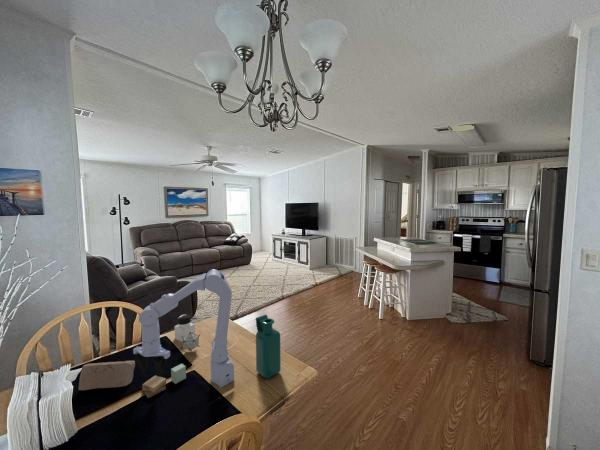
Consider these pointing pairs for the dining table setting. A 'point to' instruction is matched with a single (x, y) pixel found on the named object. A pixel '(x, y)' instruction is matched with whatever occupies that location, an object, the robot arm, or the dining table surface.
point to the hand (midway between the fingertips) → (152, 373)
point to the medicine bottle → (184, 327)
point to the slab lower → (153, 393)
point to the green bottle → (267, 347)
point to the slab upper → (154, 384)
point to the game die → (190, 341)
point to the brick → (106, 375)
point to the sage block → (178, 373)
